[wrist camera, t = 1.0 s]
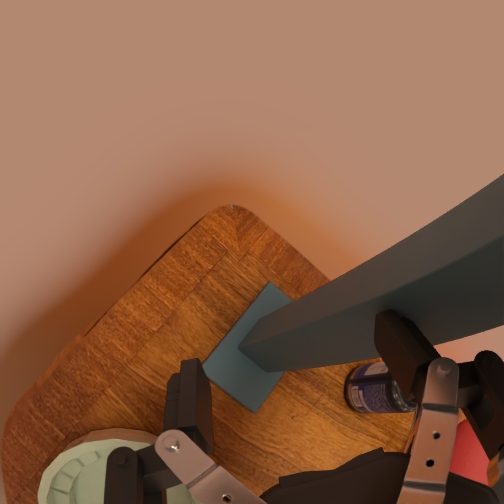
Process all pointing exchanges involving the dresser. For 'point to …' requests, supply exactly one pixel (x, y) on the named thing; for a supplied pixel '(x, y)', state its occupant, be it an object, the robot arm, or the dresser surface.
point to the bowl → (95, 469)
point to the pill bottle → (376, 391)
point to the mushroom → (469, 455)
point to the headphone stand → (373, 302)
